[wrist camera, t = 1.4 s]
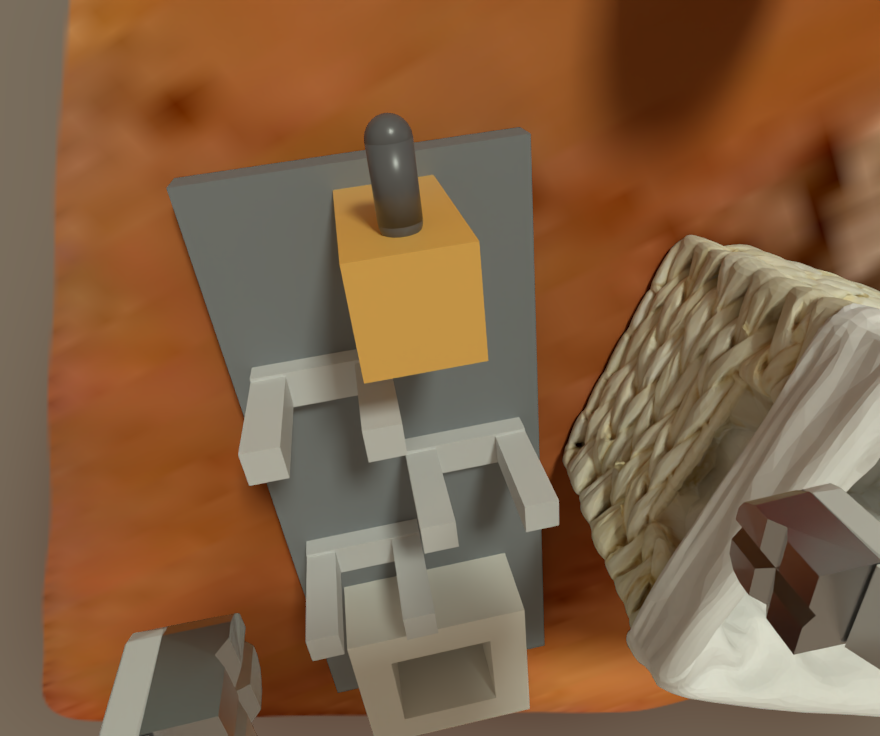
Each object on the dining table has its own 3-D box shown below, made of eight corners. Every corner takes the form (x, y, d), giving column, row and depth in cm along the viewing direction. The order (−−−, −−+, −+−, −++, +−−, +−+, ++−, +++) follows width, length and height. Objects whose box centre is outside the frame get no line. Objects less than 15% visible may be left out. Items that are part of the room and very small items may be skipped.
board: (519, 127, 25) (588, 168, 19) (537, 626, 43) (576, 735, 36) (174, 178, 24) (123, 241, 18) (337, 671, 41) (341, 792, 35)
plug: (423, 80, 22) (469, 114, 16) (443, 268, 26) (488, 361, 20) (314, 95, 22) (313, 136, 15) (351, 284, 26) (364, 383, 19)
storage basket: (524, 462, 35) (641, 718, 22) (666, 187, 28) (950, 336, 15) (828, 519, 42) (1042, 735, 30) (999, 315, 36) (1371, 483, 23)
